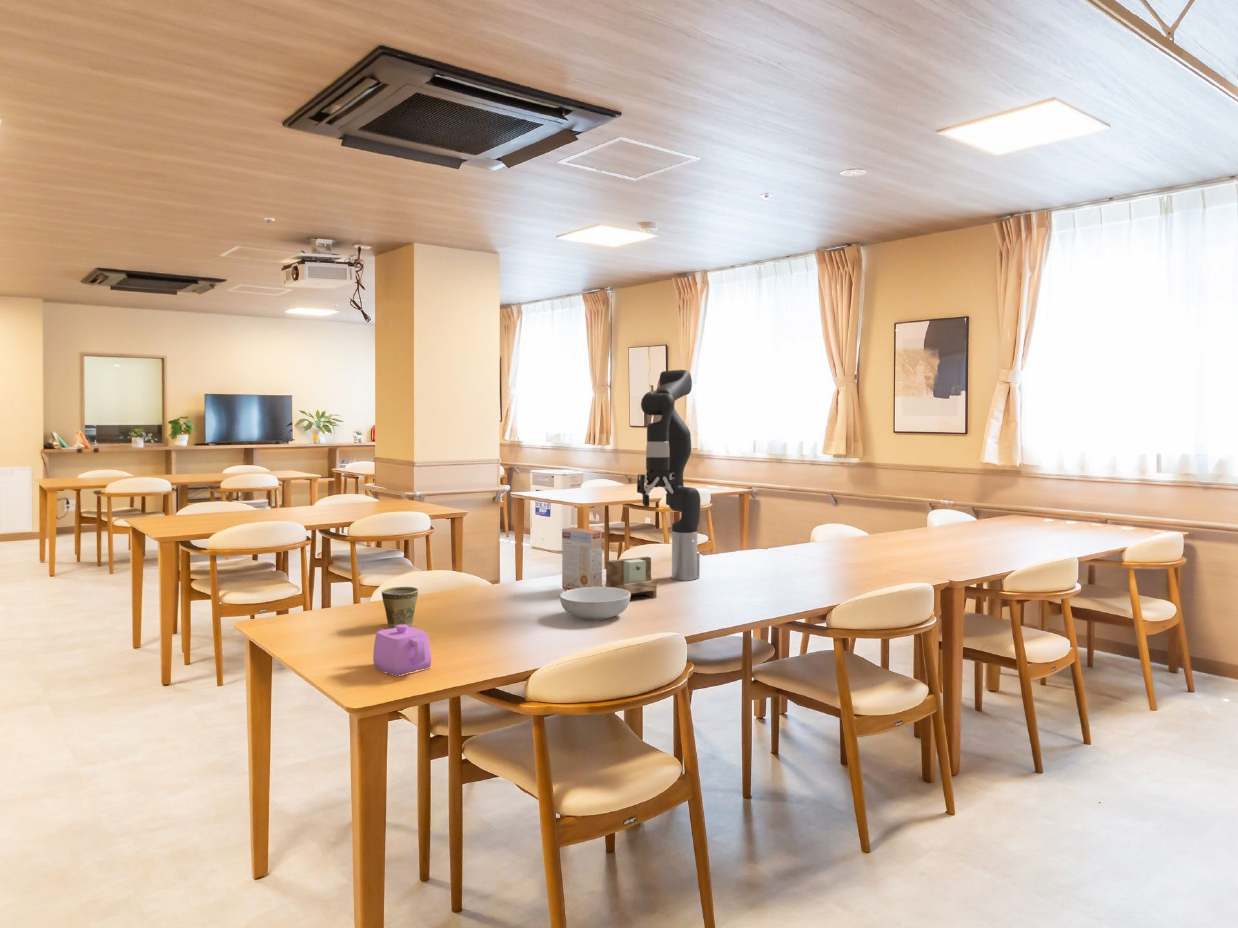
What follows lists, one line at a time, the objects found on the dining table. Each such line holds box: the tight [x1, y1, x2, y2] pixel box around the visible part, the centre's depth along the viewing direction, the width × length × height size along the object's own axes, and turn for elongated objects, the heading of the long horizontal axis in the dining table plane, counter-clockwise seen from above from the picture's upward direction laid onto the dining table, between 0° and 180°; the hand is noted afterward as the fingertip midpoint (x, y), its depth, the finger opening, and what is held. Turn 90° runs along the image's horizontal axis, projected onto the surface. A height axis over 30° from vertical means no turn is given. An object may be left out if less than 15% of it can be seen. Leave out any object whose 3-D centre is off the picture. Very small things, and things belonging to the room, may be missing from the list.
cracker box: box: [561, 527, 603, 591], centre depth 278 cm, size 14×6×21 cm, turn 46°
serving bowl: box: [559, 586, 632, 621], centre depth 243 cm, size 21×21×7 cm
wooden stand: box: [605, 556, 658, 599], centre depth 268 cm, size 16×8×12 cm, turn 120°
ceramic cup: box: [381, 586, 419, 628], centre depth 234 cm, size 13×10×10 cm
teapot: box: [372, 625, 432, 677], centre depth 194 cm, size 18×10×10 cm, turn 45°
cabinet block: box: [623, 559, 646, 584], centre depth 267 cm, size 6×5×8 cm
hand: (657, 505), depth 265 cm, fingers open, 8 cm apart
